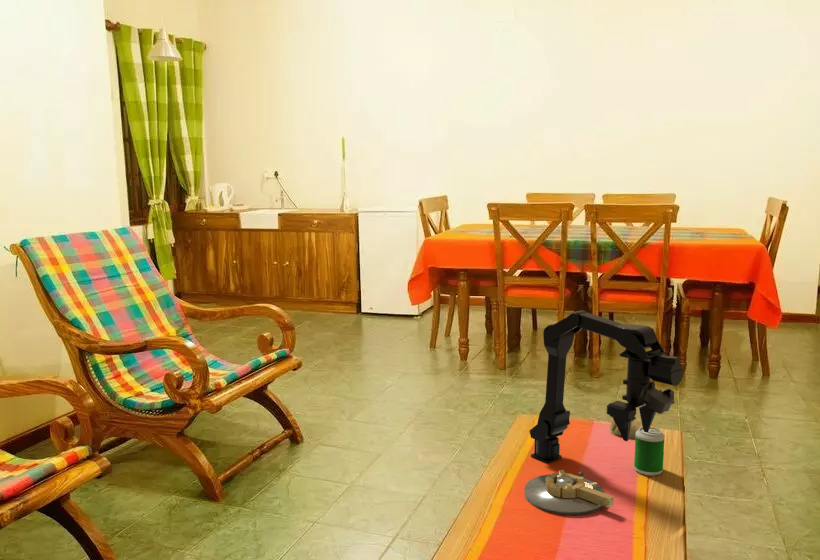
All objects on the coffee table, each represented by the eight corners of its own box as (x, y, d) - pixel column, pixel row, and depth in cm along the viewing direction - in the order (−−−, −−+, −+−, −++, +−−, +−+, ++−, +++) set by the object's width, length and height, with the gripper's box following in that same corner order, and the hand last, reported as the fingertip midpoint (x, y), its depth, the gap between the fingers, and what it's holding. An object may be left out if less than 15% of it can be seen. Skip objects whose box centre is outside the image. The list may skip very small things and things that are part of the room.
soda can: (664, 479, 188) (666, 436, 187) (635, 477, 190) (637, 434, 188) (660, 468, 196) (662, 426, 194) (632, 465, 197) (634, 424, 195)
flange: (508, 494, 180) (508, 477, 179) (557, 472, 193) (558, 457, 192) (572, 523, 165) (573, 505, 164) (621, 498, 178) (622, 481, 177)
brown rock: (600, 431, 224) (601, 407, 223) (636, 428, 226) (637, 404, 225) (621, 448, 210) (622, 422, 209) (659, 444, 213) (661, 419, 212)
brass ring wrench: (539, 489, 178) (539, 477, 178) (559, 478, 185) (559, 467, 184) (601, 513, 166) (601, 500, 166) (620, 500, 173) (621, 487, 172)
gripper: (647, 391, 164) (644, 455, 166) (688, 376, 176) (684, 436, 178) (606, 381, 172) (603, 442, 175) (648, 367, 184) (645, 424, 186)
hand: (636, 436), depth 178 cm, fingers open, 9 cm apart
